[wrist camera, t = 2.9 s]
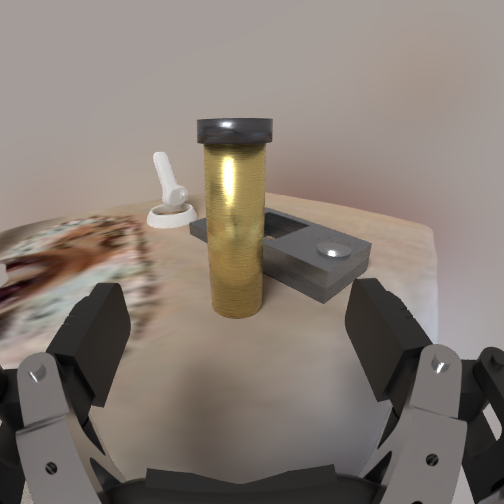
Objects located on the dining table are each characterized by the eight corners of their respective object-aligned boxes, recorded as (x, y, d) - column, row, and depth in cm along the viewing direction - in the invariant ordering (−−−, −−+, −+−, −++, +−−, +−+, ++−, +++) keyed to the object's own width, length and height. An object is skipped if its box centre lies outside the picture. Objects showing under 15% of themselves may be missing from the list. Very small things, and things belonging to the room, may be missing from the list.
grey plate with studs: (190, 233, 36) (188, 208, 34) (238, 218, 41) (237, 195, 39) (323, 303, 23) (329, 267, 21) (366, 270, 28) (372, 239, 26)
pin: (195, 301, 23) (183, 120, 17) (239, 280, 26) (238, 118, 20) (233, 330, 20) (228, 118, 14) (279, 303, 23) (288, 119, 17)
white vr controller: (156, 175, 46) (183, 152, 43) (181, 238, 46) (211, 219, 42) (122, 174, 40) (147, 148, 36) (146, 245, 39) (176, 224, 36)
